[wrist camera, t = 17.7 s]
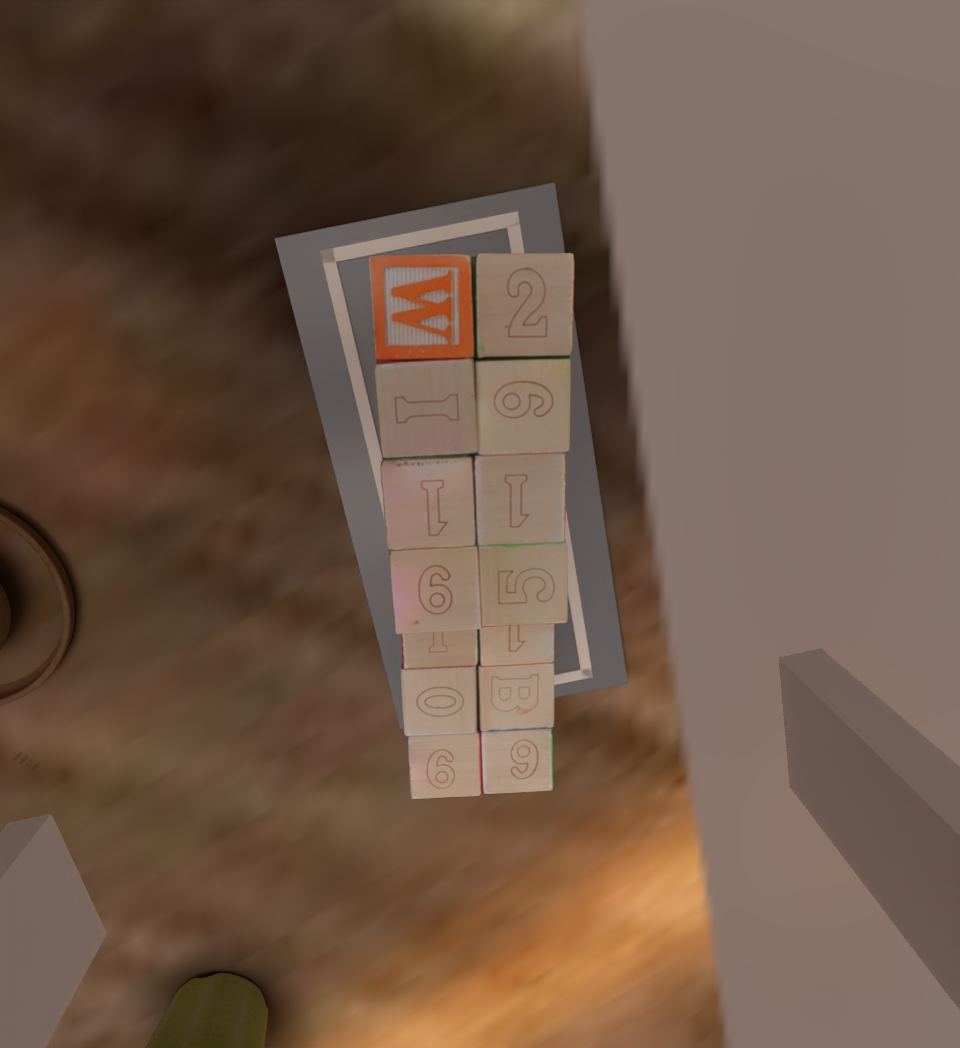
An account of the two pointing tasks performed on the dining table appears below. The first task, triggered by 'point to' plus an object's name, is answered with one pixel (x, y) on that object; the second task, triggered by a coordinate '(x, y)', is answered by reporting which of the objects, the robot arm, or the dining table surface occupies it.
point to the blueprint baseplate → (353, 421)
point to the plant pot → (214, 1015)
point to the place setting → (25, 685)
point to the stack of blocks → (475, 506)
